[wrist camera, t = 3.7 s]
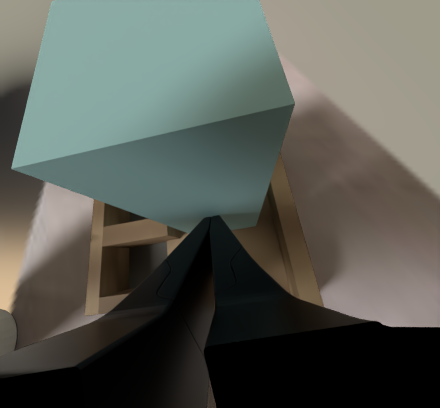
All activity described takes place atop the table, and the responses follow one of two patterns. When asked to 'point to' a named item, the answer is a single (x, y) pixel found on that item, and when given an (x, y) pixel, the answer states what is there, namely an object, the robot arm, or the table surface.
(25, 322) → the table surface
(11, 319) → the coffee cup
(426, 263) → the table surface
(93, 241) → the trap channel
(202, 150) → the block
